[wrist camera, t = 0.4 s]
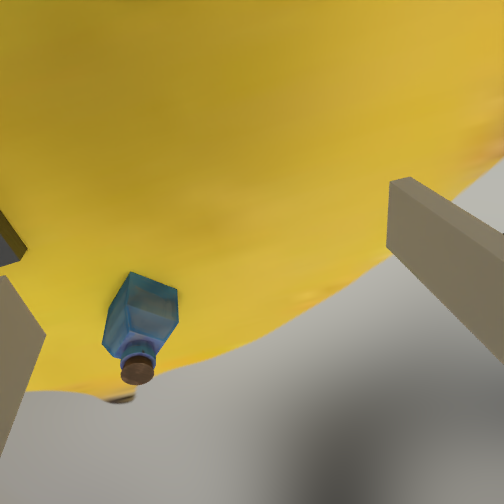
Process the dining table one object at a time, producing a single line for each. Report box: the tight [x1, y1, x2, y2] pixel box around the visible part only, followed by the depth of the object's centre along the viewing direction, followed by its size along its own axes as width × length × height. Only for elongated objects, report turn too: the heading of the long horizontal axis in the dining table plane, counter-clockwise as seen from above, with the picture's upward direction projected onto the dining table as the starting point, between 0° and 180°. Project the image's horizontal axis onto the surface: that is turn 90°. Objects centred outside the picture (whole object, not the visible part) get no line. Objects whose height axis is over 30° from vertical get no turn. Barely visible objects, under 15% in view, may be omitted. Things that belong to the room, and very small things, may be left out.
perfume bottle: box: [102, 272, 179, 385], centre depth 41 cm, size 6×6×12 cm
